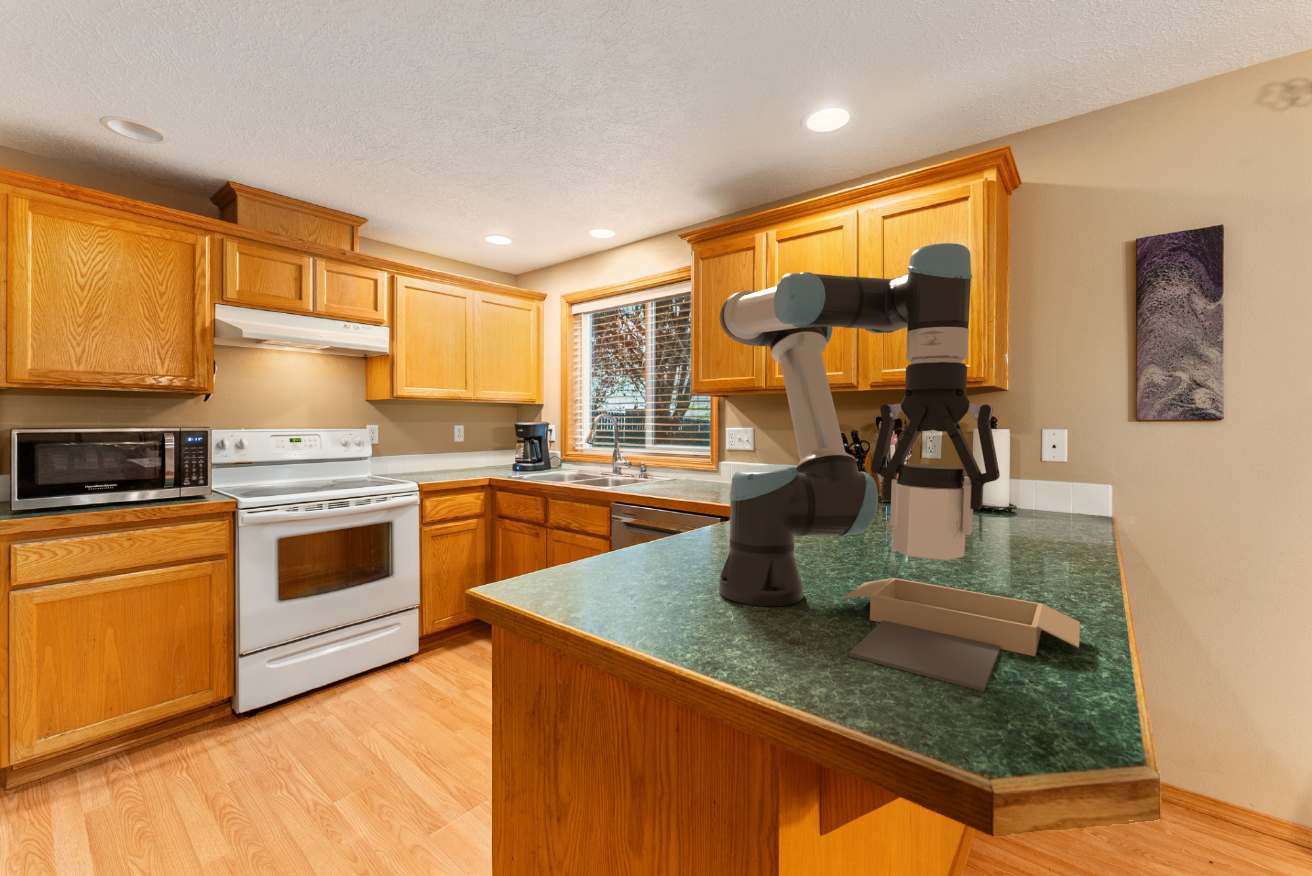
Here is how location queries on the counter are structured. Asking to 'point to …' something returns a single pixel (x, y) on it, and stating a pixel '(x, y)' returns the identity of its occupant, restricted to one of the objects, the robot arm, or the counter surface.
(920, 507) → the jar
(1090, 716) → the counter surface
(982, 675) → the mat
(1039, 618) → the carton
